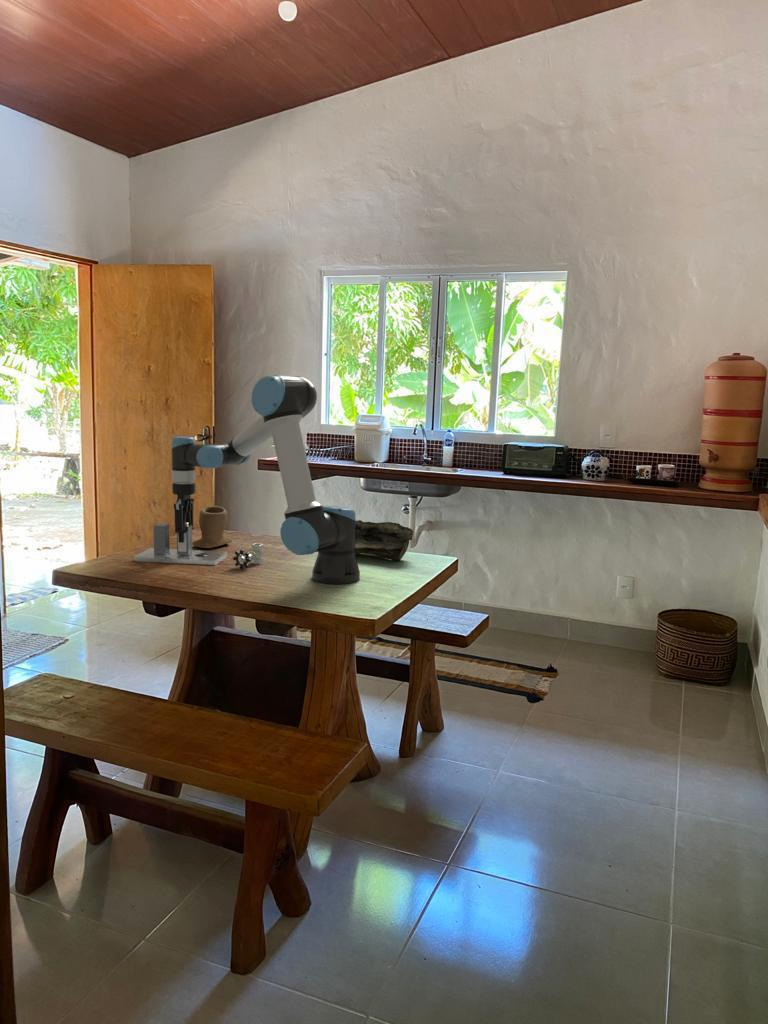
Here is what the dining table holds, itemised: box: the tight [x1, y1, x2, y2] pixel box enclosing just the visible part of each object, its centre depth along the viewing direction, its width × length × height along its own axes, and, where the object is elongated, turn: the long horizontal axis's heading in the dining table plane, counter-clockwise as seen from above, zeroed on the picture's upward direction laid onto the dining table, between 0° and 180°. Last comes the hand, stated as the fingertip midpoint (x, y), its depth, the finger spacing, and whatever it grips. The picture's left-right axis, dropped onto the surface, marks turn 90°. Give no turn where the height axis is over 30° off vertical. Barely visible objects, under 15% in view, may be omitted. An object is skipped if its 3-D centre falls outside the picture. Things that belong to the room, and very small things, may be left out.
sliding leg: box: [176, 522, 193, 555], centre depth 259 cm, size 4×4×11 cm
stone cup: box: [192, 505, 233, 549], centre depth 280 cm, size 15×12×15 cm
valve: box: [232, 542, 265, 570], centre depth 254 cm, size 7×7×12 cm
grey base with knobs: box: [133, 523, 228, 566], centre depth 260 cm, size 14×28×12 cm, turn 85°
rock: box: [355, 519, 414, 562], centre depth 270 cm, size 28×13×15 cm
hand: (184, 549), depth 260 cm, fingers closed on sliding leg, 4 cm apart
